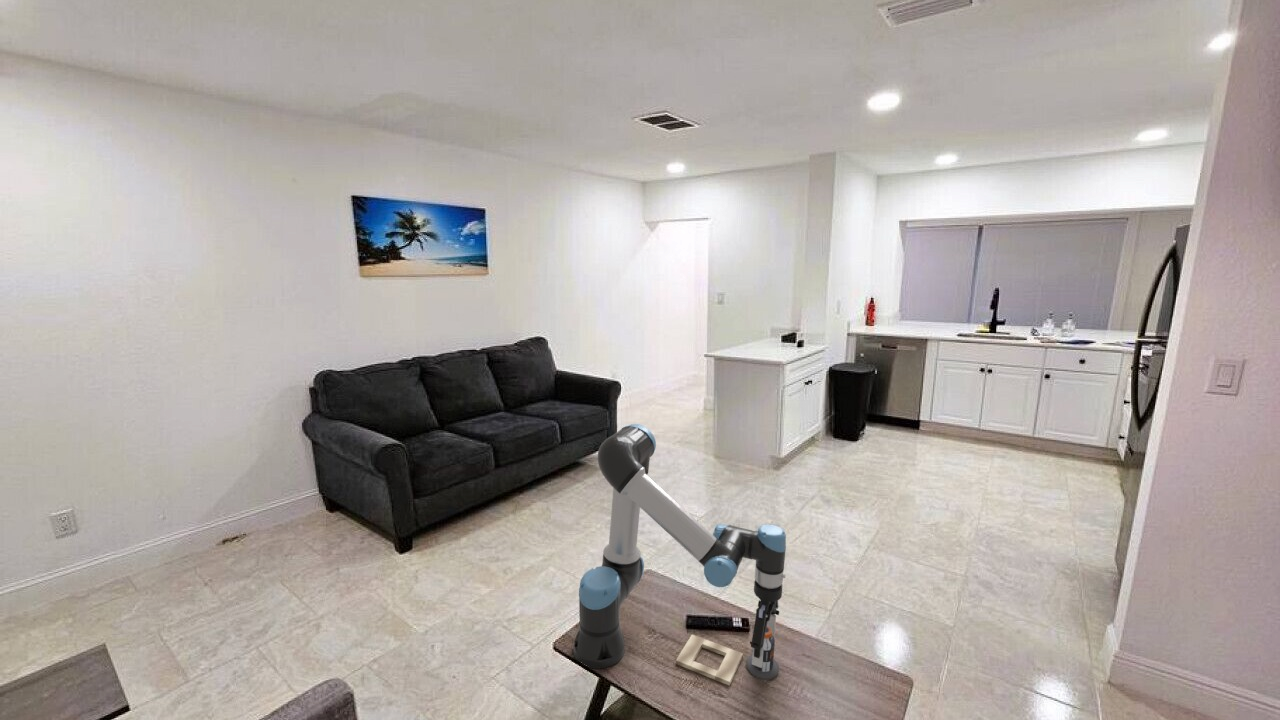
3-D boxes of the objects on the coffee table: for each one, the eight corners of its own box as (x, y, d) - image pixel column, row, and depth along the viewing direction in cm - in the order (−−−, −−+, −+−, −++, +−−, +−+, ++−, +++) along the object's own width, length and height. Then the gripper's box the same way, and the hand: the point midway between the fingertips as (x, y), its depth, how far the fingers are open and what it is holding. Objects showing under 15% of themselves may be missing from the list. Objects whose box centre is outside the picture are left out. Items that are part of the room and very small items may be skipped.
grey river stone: (742, 671, 146) (742, 669, 145) (751, 651, 153) (751, 648, 153) (774, 684, 141) (774, 681, 141) (781, 662, 149) (782, 660, 149)
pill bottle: (773, 674, 144) (776, 638, 142) (751, 670, 145) (753, 635, 143) (772, 658, 150) (774, 623, 147) (751, 655, 151) (753, 620, 149)
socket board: (675, 663, 148) (675, 660, 148) (691, 637, 158) (692, 634, 158) (729, 685, 141) (729, 682, 140) (742, 657, 151) (743, 653, 151)
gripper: (770, 611, 130) (765, 685, 134) (792, 562, 152) (786, 627, 155) (741, 602, 133) (737, 674, 137) (766, 555, 155) (762, 618, 159)
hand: (763, 649), depth 146 cm, fingers open, 13 cm apart
